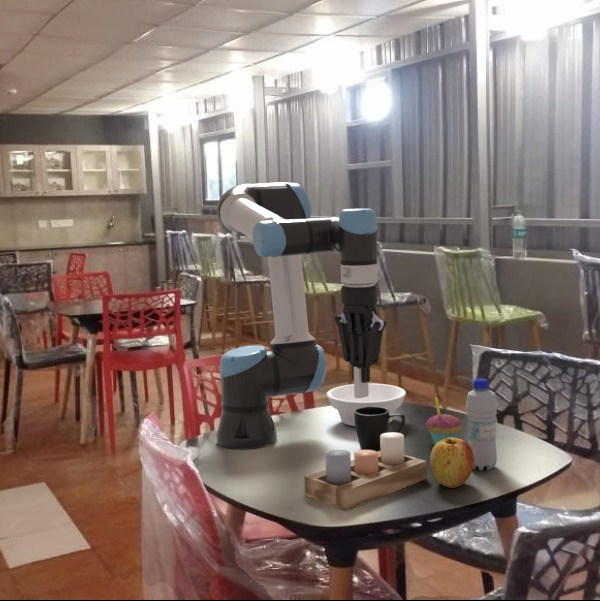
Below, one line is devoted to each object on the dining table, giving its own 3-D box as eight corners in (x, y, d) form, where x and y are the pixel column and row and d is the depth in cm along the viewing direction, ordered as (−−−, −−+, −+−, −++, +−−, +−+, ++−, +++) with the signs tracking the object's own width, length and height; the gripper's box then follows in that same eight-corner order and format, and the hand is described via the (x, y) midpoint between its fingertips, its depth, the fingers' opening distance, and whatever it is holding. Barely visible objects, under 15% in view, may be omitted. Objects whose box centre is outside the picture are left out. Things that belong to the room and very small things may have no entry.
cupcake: (422, 447, 197) (421, 398, 195) (430, 436, 205) (430, 389, 203) (458, 450, 194) (457, 400, 192) (465, 439, 201) (464, 391, 200)
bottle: (480, 474, 177) (479, 383, 174) (460, 465, 183) (459, 377, 180) (504, 468, 180) (503, 379, 177) (484, 460, 186) (483, 373, 183)
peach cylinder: (349, 481, 172) (349, 453, 171) (366, 475, 175) (365, 448, 174) (367, 487, 168) (366, 459, 167) (383, 481, 171) (383, 453, 171)
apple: (481, 490, 168) (481, 442, 166) (439, 494, 166) (439, 447, 165) (463, 475, 177) (463, 430, 175) (423, 480, 175) (422, 434, 173)
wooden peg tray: (304, 495, 168) (304, 476, 168) (385, 466, 184) (384, 449, 183) (346, 510, 159) (345, 490, 159) (426, 479, 175) (426, 460, 174)
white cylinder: (376, 463, 177) (375, 436, 176) (391, 457, 180) (391, 431, 179) (393, 468, 173) (392, 440, 172) (409, 462, 176) (408, 435, 175)
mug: (402, 456, 190) (401, 416, 189) (351, 453, 194) (350, 414, 192) (408, 445, 198) (407, 407, 197) (359, 443, 202) (358, 405, 200)
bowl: (318, 416, 228) (317, 387, 227) (390, 408, 233) (389, 380, 231) (340, 437, 207) (339, 405, 206) (418, 428, 212) (418, 397, 211)
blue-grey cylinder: (321, 482, 166) (320, 453, 166) (339, 476, 170) (338, 447, 169) (338, 488, 163) (337, 459, 162) (356, 481, 166) (355, 453, 165)
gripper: (324, 284, 171) (327, 394, 174) (369, 289, 161) (371, 406, 164) (349, 280, 175) (352, 388, 179) (395, 285, 166) (396, 398, 169)
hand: (361, 396), depth 172 cm, fingers closed
